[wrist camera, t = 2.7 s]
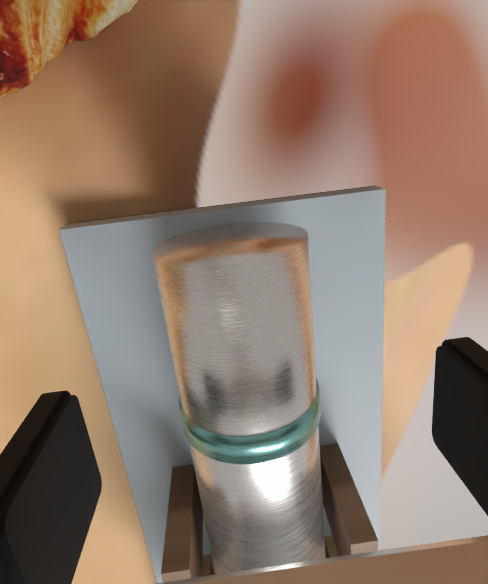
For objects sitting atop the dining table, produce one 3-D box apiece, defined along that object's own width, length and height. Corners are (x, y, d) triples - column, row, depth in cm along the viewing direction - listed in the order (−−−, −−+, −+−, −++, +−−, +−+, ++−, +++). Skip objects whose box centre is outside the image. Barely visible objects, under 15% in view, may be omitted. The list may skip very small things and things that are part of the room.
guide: (172, 467, 19) (161, 574, 15) (337, 442, 20) (378, 540, 15) (182, 514, 20) (175, 627, 16) (339, 490, 21) (377, 595, 16)
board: (67, 224, 16) (58, 229, 15) (375, 185, 16) (385, 188, 15) (168, 599, 24) (167, 618, 23) (372, 567, 24) (379, 584, 24)
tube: (157, 232, 15) (135, 277, 10) (293, 215, 15) (331, 252, 11) (211, 513, 20) (212, 627, 16) (312, 498, 20) (343, 606, 16)
